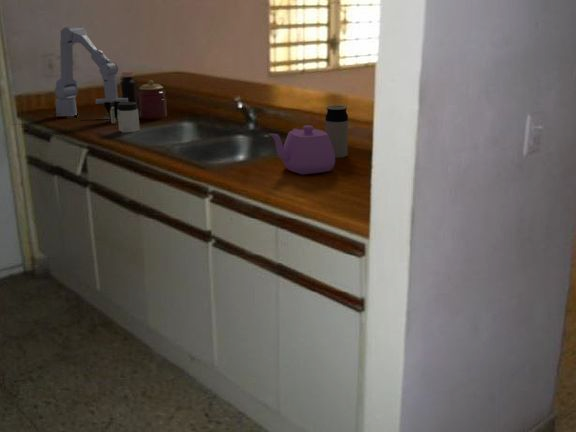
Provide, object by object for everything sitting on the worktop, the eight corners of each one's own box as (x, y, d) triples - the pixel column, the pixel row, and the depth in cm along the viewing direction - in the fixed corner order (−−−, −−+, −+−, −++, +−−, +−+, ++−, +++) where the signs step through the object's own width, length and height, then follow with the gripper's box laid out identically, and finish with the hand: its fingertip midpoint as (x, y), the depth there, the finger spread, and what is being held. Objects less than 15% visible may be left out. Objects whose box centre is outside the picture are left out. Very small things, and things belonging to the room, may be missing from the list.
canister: (152, 120, 318) (149, 82, 312) (134, 117, 326) (130, 80, 320) (172, 116, 328) (170, 79, 322) (154, 113, 335) (151, 77, 330)
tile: (111, 123, 314) (110, 110, 312) (113, 120, 321) (111, 107, 319) (114, 123, 314) (113, 110, 312) (116, 119, 321) (115, 107, 319)
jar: (117, 130, 298) (114, 102, 294) (135, 127, 302) (132, 101, 298) (123, 133, 291) (121, 105, 287) (141, 131, 295) (139, 103, 291)
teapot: (314, 159, 243) (314, 117, 238) (342, 173, 225) (342, 128, 220) (255, 166, 235) (253, 123, 230) (278, 181, 216) (278, 135, 211)
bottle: (121, 113, 337) (117, 72, 331) (128, 111, 343) (124, 71, 337) (133, 114, 335) (129, 73, 329) (140, 111, 341) (136, 71, 335)
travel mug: (349, 157, 244) (350, 108, 238) (327, 158, 243) (328, 108, 237) (344, 152, 252) (345, 104, 246) (323, 153, 251) (323, 105, 245)
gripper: (93, 91, 308) (96, 120, 312) (126, 89, 310) (128, 119, 314) (95, 88, 314) (98, 117, 319) (127, 87, 316) (129, 116, 321)
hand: (113, 118), depth 317 cm, fingers closed on tile, 2 cm apart
